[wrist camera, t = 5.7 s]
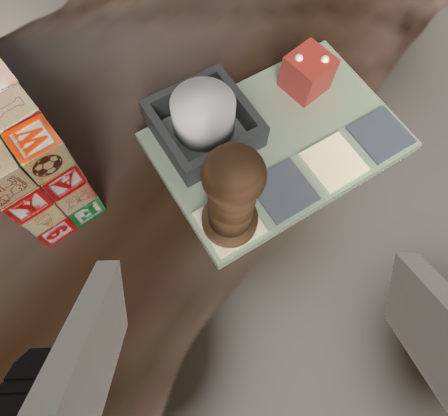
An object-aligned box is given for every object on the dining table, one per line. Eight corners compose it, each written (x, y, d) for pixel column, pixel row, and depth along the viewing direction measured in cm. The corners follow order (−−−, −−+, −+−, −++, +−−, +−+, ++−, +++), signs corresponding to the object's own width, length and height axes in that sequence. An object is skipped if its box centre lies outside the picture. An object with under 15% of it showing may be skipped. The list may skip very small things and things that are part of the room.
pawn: (191, 212, 36) (182, 147, 25) (237, 187, 37) (247, 114, 27) (220, 258, 34) (222, 208, 24) (267, 230, 35) (290, 170, 25)
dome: (162, 116, 39) (157, 93, 36) (214, 91, 40) (214, 66, 37) (192, 162, 37) (190, 142, 34) (246, 134, 38) (249, 112, 35)
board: (132, 132, 41) (123, 107, 37) (317, 42, 46) (326, 12, 42) (218, 270, 35) (218, 257, 32) (416, 150, 41) (437, 126, 37)
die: (277, 84, 42) (283, 54, 38) (302, 65, 43) (311, 33, 39) (304, 108, 41) (313, 79, 37) (329, 87, 42) (342, 57, 38)
